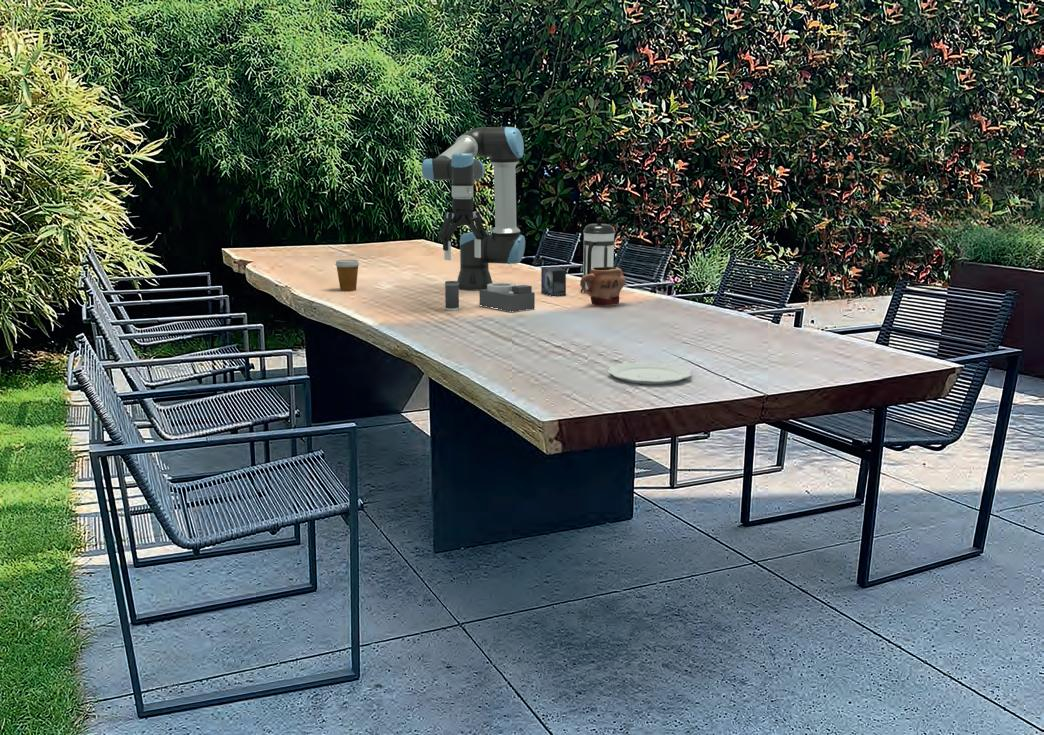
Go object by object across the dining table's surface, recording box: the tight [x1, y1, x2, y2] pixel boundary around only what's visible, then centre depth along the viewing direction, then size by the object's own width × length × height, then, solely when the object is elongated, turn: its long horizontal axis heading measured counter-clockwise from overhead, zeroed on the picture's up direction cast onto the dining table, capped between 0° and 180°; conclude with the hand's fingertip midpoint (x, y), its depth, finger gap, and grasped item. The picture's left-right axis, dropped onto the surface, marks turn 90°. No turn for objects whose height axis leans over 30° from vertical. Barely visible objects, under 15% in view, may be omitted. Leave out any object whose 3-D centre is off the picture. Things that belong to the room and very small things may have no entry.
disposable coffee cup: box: [335, 259, 360, 292], centre depth 381 cm, size 10×10×12 cm
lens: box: [444, 280, 460, 312], centre depth 336 cm, size 5×5×10 cm
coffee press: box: [580, 216, 616, 294], centre depth 376 cm, size 17×16×30 cm
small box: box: [540, 266, 567, 297], centre depth 373 cm, size 11×6×10 cm, turn 25°
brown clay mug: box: [579, 266, 627, 307], centre depth 347 cm, size 20×12×14 cm, turn 128°
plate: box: [607, 361, 692, 385], centre depth 239 cm, size 21×21×2 cm
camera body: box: [478, 282, 536, 313], centre depth 341 cm, size 18×11×8 cm, turn 41°
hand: (462, 258), depth 335 cm, fingers open, 13 cm apart
